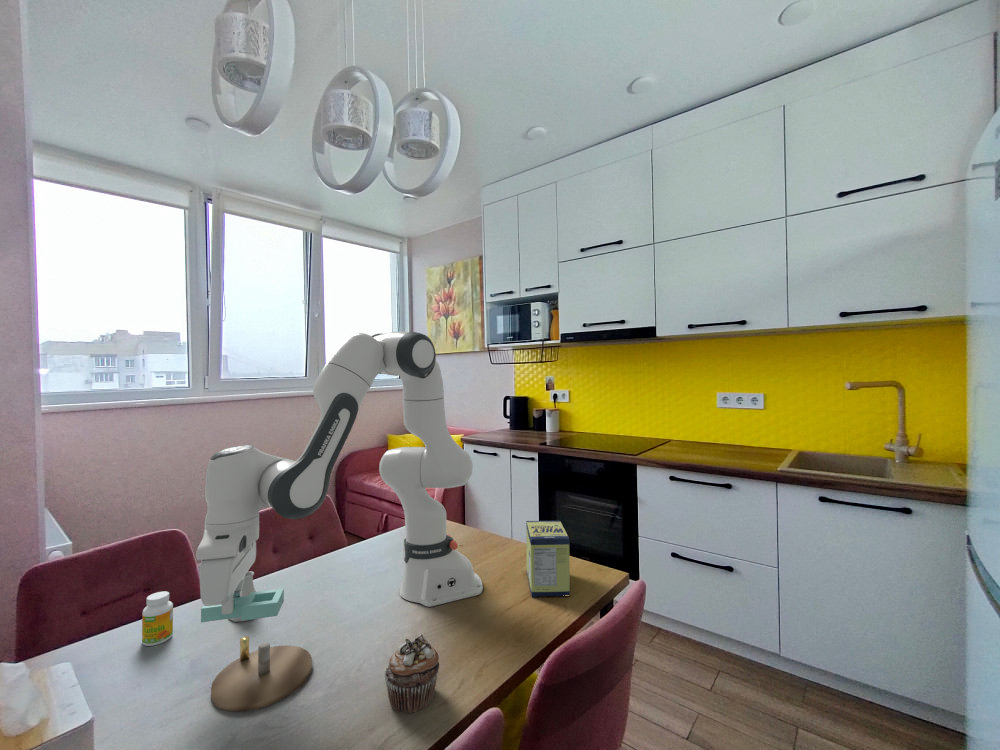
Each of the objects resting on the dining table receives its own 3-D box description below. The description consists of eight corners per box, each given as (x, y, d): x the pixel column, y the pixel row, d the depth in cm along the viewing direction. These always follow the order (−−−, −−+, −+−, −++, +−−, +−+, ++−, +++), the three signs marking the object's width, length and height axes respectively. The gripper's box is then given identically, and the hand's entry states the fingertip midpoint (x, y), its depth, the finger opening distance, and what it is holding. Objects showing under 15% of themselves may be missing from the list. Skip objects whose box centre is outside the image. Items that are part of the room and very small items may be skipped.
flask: (247, 624, 103) (247, 581, 103) (221, 621, 104) (221, 579, 104) (269, 608, 110) (269, 568, 110) (244, 606, 111) (245, 566, 111)
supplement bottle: (138, 649, 93) (139, 603, 93) (145, 636, 98) (145, 593, 98) (170, 642, 96) (170, 597, 96) (175, 630, 100) (175, 587, 101)
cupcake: (421, 671, 85) (421, 620, 86) (449, 698, 78) (449, 642, 78) (375, 695, 79) (375, 639, 79) (401, 726, 72) (400, 665, 72)
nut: (283, 601, 88) (283, 588, 88) (277, 615, 82) (277, 602, 82) (209, 610, 84) (210, 597, 84) (197, 626, 78) (197, 612, 78)
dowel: (250, 655, 89) (250, 635, 89) (247, 660, 87) (248, 640, 87) (241, 656, 88) (241, 636, 89) (239, 661, 87) (239, 641, 87)
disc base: (317, 645, 94) (317, 616, 94) (304, 700, 78) (305, 665, 78) (228, 659, 90) (228, 629, 90) (195, 721, 73) (195, 683, 73)
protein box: (560, 571, 130) (560, 519, 130) (570, 597, 115) (570, 538, 115) (525, 572, 130) (525, 520, 130) (531, 598, 114) (530, 538, 115)
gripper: (231, 518, 92) (230, 584, 92) (191, 554, 72) (191, 638, 72) (264, 515, 94) (264, 580, 93) (234, 550, 74) (234, 632, 74)
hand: (232, 606), depth 82 cm, fingers closed on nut, 3 cm apart
